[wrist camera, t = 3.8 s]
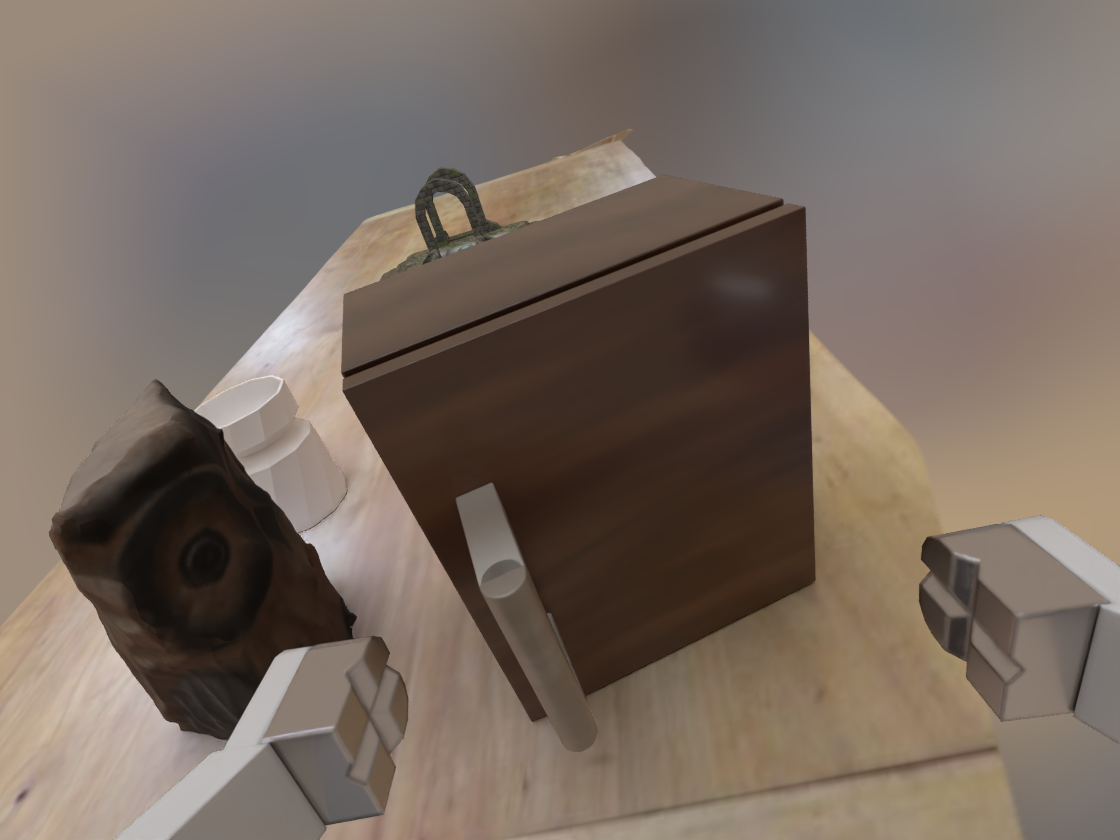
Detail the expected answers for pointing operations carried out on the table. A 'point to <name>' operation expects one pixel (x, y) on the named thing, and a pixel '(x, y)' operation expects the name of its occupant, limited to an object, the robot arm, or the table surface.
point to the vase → (278, 448)
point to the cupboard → (534, 265)
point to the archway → (442, 242)
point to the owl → (190, 564)
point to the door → (615, 460)
